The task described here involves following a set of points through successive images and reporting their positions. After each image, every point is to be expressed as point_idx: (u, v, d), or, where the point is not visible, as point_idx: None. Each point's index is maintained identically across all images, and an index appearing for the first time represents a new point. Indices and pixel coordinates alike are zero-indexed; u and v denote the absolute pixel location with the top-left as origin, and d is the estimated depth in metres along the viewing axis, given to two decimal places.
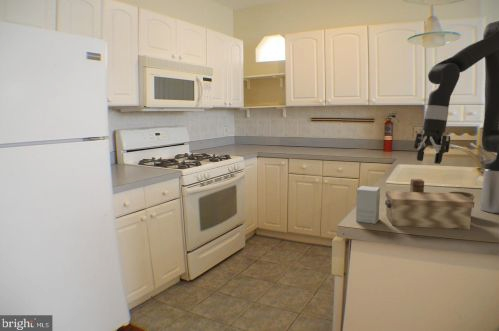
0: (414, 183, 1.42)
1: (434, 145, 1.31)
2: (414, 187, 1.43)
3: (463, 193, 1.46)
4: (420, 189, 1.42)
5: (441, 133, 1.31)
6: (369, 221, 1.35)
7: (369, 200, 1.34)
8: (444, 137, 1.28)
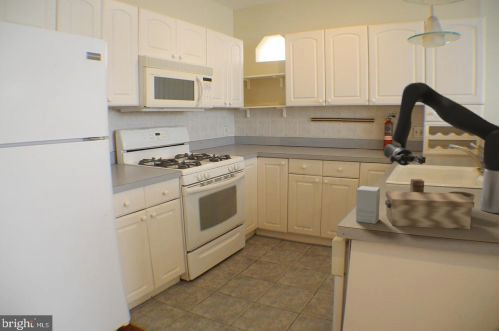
0: (414, 183, 1.42)
1: None
2: (414, 187, 1.43)
3: (463, 193, 1.46)
4: (420, 189, 1.42)
5: None
6: (369, 221, 1.35)
7: (369, 200, 1.34)
8: None
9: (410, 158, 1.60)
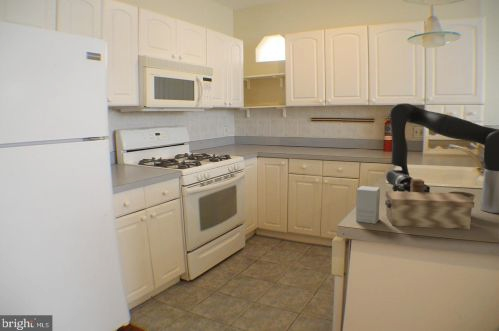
0: (414, 183, 1.42)
1: None
2: (414, 187, 1.43)
3: (463, 193, 1.46)
4: (420, 189, 1.42)
5: (399, 185, 1.59)
6: (369, 221, 1.35)
7: (369, 200, 1.34)
8: None
9: None
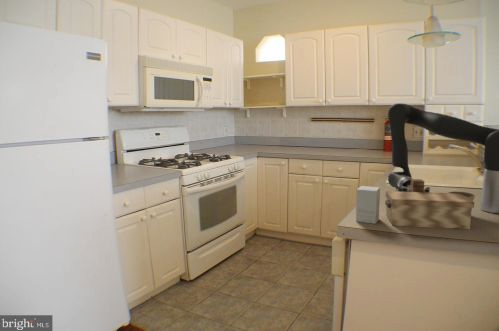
0: (414, 183, 1.42)
1: None
2: (414, 187, 1.43)
3: (463, 193, 1.46)
4: (420, 189, 1.42)
5: (401, 188, 1.54)
6: (369, 221, 1.35)
7: (369, 200, 1.34)
8: None
9: None
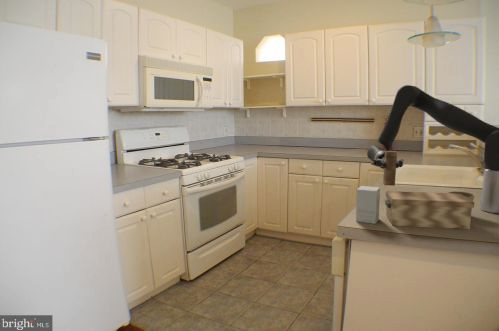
0: (387, 154, 1.49)
1: None
2: (387, 158, 1.49)
3: (463, 193, 1.46)
4: (393, 159, 1.49)
5: None
6: (369, 221, 1.35)
7: (369, 200, 1.34)
8: None
9: None
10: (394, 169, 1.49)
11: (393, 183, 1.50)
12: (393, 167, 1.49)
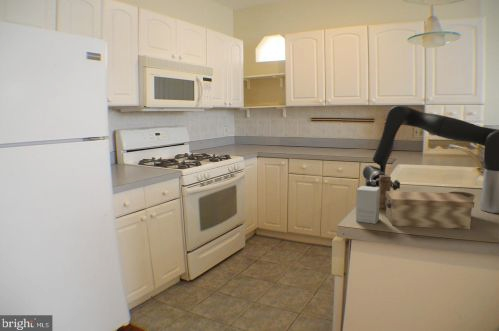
0: (381, 179, 1.52)
1: None
2: (381, 182, 1.52)
3: (463, 193, 1.46)
4: (387, 184, 1.52)
5: (372, 181, 1.63)
6: (369, 221, 1.35)
7: (369, 200, 1.34)
8: (366, 184, 1.63)
9: None
10: None
11: None
12: None
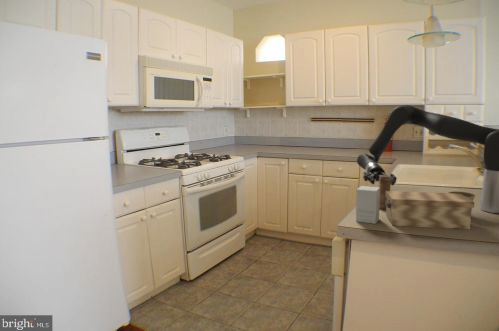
0: (381, 179, 1.52)
1: None
2: (381, 182, 1.52)
3: (463, 193, 1.46)
4: (387, 184, 1.52)
5: (369, 174, 1.74)
6: (369, 221, 1.35)
7: (369, 200, 1.34)
8: None
9: None
10: None
11: None
12: None
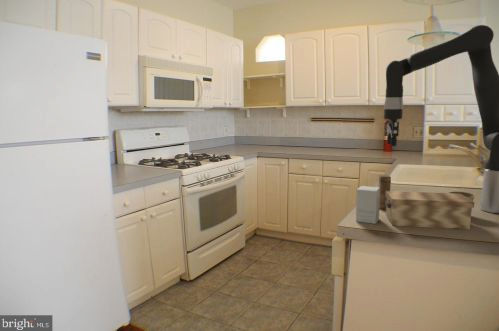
0: (381, 179, 1.52)
1: (389, 131, 1.57)
2: (381, 182, 1.52)
3: (463, 193, 1.46)
4: (387, 184, 1.52)
5: (394, 120, 1.56)
6: (369, 221, 1.35)
7: (369, 200, 1.34)
8: (392, 123, 1.54)
9: None
10: None
11: None
12: None
